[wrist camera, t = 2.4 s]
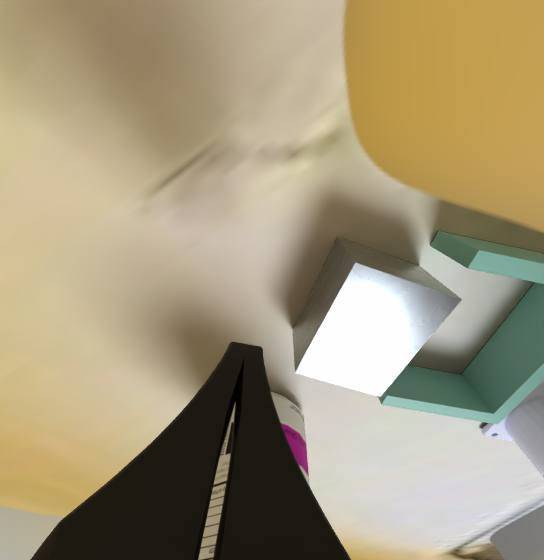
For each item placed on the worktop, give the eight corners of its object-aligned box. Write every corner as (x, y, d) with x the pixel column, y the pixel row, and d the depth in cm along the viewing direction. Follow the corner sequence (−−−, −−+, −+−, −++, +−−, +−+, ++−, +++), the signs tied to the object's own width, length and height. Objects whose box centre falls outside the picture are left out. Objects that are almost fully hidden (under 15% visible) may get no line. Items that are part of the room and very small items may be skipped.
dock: (570, 259, 15) (643, 284, 12) (465, 384, 21) (497, 424, 18) (438, 230, 15) (479, 250, 12) (366, 366, 20) (381, 404, 17)
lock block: (417, 264, 16) (461, 299, 12) (360, 348, 20) (380, 396, 16) (336, 235, 16) (355, 262, 12) (292, 327, 19) (295, 372, 15)
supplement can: (315, 396, 22) (363, 749, 9) (288, 444, 26) (295, 746, 13) (230, 377, 22) (145, 729, 8) (215, 429, 25) (139, 731, 12)
